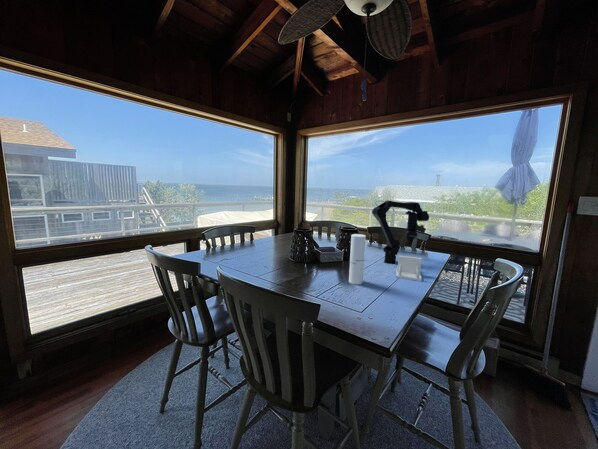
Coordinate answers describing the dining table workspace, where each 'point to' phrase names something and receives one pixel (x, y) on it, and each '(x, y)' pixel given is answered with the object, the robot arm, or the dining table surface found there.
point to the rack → (408, 274)
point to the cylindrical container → (357, 258)
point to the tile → (409, 264)
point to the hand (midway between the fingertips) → (410, 244)
